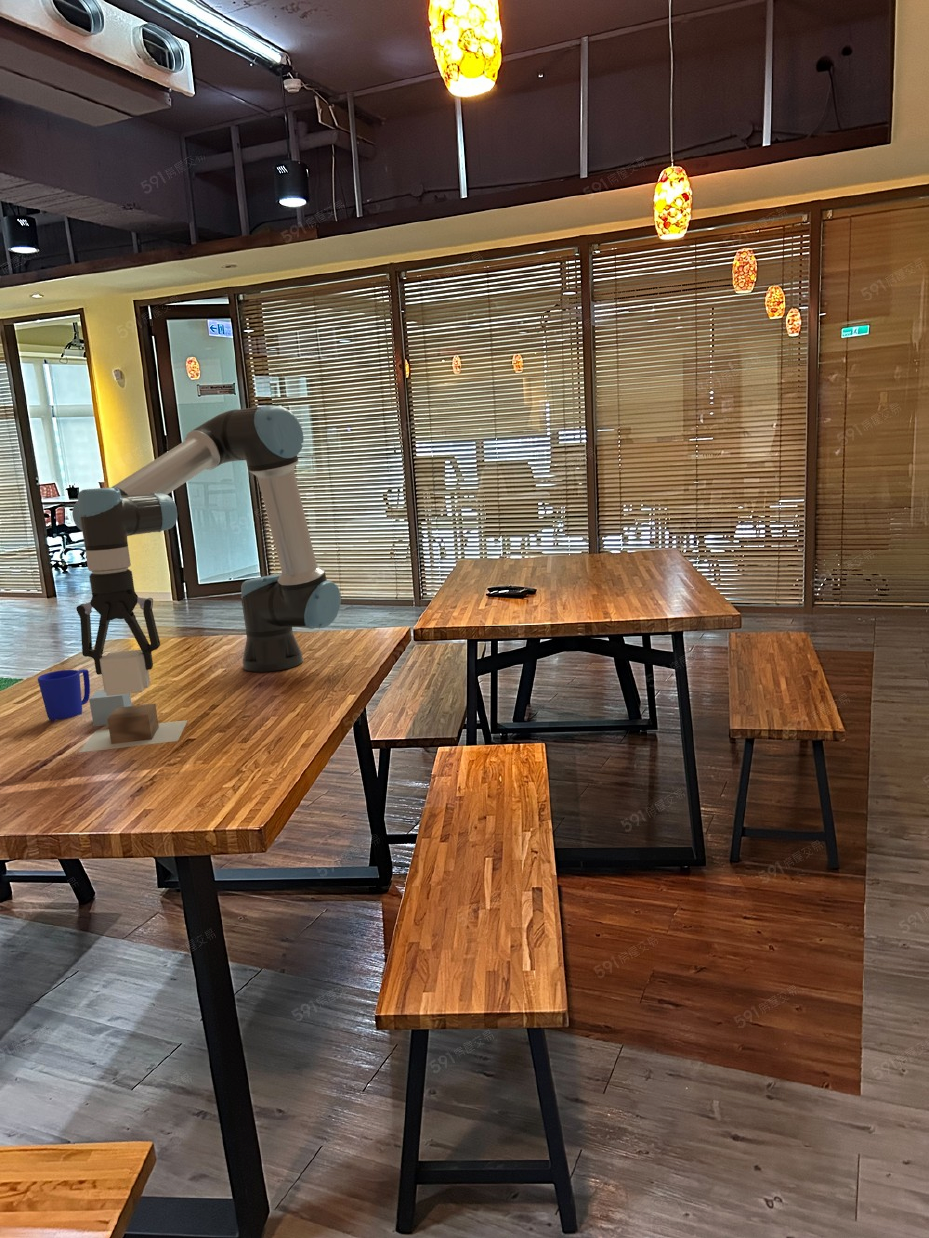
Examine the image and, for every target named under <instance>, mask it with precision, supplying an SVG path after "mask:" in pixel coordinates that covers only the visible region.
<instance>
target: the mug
mask: <svg viewBox="0 0 929 1238" xmlns="http://www.w3.org/2000/svg"><path fill="white" fill-rule="evenodd" d="M81 674H82V678H83V687H84V688H83V689H84V693H83V699H82V690H81V689H82V688H81V678H80V677H81V676H80V675H81ZM37 682H38V686H39V690H40V694H41V698H42V701H43V705H44V709H45V712H46V716H47V719H49V720H48V721H50V722H53V723H54V722H55V721H57V720H65V719H69V718H71V719H72V718H75V717H76V716H81V715H82V714H83V706H84V705H85V704H87V703H88V702H89V699H90V697H91V686H90V685H91V682H90V671H89V670H88V669H79V670H77V669H63V670H57V671H56V670H55V671H51V672H47V673H44V674H42V675H40V676H38V677H37Z"/></svg>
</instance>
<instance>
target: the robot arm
mask: <svg viewBox="0 0 929 1238" xmlns="http://www.w3.org/2000/svg"><path fill="white" fill-rule="evenodd" d="M300 423H301V422H300V421H299V420H298V417H296V415H295V414H294V413H293V412H291V411H290V410H289V409H288V408H285V407H283V406H280V405H279V406H278V405H273V406H271V405H263V406H255V407H249V408H241V409H232V410H227V411H225V412H222V413H220V414H218V415H216V416H214V417H212V418H210V419H208V420H207V421H205V422H204V423H202V424H200V425H199V426H197V427H196V428H194V429H193V430H191V431H189V432H188V433H187V434H186V435H185V438H184V441H182V442H181V443H179V444H178V445H176V446H175V447H173V448H171V449H169V450H168V451H166V452H164V453H163V454H162V455H160V456H158V457H157V458H156V459H154V460H152V461H150V462H149V463H147V464H146V465H144V466H142V467H141V468H140V469H138V470H137V471H135V472H133V473H132V474H130V475H128V476H127V477H126V478H124V479H122V480H120V481H119V482H117V483H116V484H114V485H113V486H110V487H99V488H87V489H82V490H80V491H79V492H78V495H77V501H76V502H75V504H74V505H73V507H72V520H73V522H74V524H75V526H76V527H77V528H78V529H79V530H80V531H82V538H83V543H84V549H85V550H84V551H85V556H86V563H87V564H86V565H87V571H90V572H91V573H90V574H89V576H88V577H89V582H90V583H89V584H90V589H91V599H90V601H88V602H86V603H80V604H79V605H78V606H77V607H75V609H76V611H77V614H78V616H79V618H80V633H81V634H80V635H81V637H80V638H81V652H82V653H81V654H82V656H83V657H86V658H87V657H88V658H92V659H93V661H94V668H95V673H96V675H97V676H99V675H101V677H102V685H103V690H104V691H105V692H106V690H105V683H104V677H103V670H102V664H101V660H102V659H103V658H104V657H105V656H106V655H103V654H104V648H105V644H106V639H107V633H108V630H109V625H110V623H111V622H110V621H113V620H116V619H118V620H124V621H125V623H126V624H127V626H128V628H129V629H130V632H131V633H132V635H133V637H134V638H135V640H136V642H137V645H138V646H139V648H140V650H142V653H141V654H140V655H139V659H140V665H141V672H142V679H143V686H144V688H145V689H146V688H147V689H148V688H149V686H150V685H151V679H150V674H149V671H150V670H152V669H153V667H154V662H153V655H152V652H154V651H156V650H158V649H159V648H160V646H161V641H160V638H159V637H160V636H159V633H158V628H157V625H156V620H155V616H154V612H153V606H154V599H153V598H152V597H148V598H146V597H145V598H144V597H139V596H138V594H137V592H136V590H135V585H134V579H133V578H134V577H133V571H132V570H131V569H129V568H130V567H131V566H132V565H131V564H132V563H131V557H130V550H129V542H128V537H130V536H134V535H143V534H150V533H161V532H164V531H167V530H170V529H172V528H173V527H174V526H175V525H176V523H177V522H178V508H177V505H176V502H175V501H174V499H173V498H172V497H171V496H170V495H169V494H170V493H172V492H173V491H175V490H177V489H179V487H181V486H182V485H184V484H185V483H187V482H189V481H190V480H191V479H193V478H194V477H196V476H197V475H199V474H200V473H202V472H203V471H205V470H214V469H215V468H218V467H219V466H221V465H222V464H225V463H229V462H230V463H231V462H238V461H239V462H240V461H245V462H246V466H247V469H248V472H249V473H250V474H252V475H254V476H255V477H256V478H257V481H258V485H259V489H260V493H261V496H262V501H263V505H264V508H265V512H266V513H265V514H266V515H267V516H266V517H267V520H268V524H269V528H270V530H271V531H270V532H271V535H272V539H273V543H274V547H275V551H276V555H277V559H278V562H279V566H280V570H281V573H275V574H269V575H265V576H261V577H255V578H251V579H247V580H245V581H243V582H242V584H241V585H240V586H241V587H240V591H241V592H240V594H241V595H240V598H241V606H242V611H243V619H244V625H245V627H244V628H245V634H246V641H245V645H244V651H243V655H242V667H243V670H245V671H248V672H255V673H265V672H266V673H267V672H268V673H269V672H276V671H282V670H286V669H287V670H288V669H290V668H294V667H297V666H298V665H301V664H302V663H303V661H304V659H303V652H302V649H301V647H300V646H299V643H298V642H297V639H296V637H295V634H294V632H293V628H302V629H305V628H306V629H309V630H314V629H324V628H327V627H329V626H330V625H331V624H333V623H334V621H335V620H336V618H337V617H338V615H339V612H340V610H341V609H340V608H341V601H342V595H341V591H340V589H339V586H338V585H337V584H335V583H336V582H333V581H331V580H328V578H327V575H326V571H325V569H324V568H323V567H322V566H320V565H318V564H317V559H316V557H315V552H314V548H313V544H312V540H311V536H310V532H309V527H308V523H307V518H306V515H305V510H304V507H303V502H302V499H301V493H300V489H299V485H298V482H297V481H298V480H297V478H296V474H295V473H296V472H295V467H296V466H297V464H298V463H299V458H298V455H299V454H300V452H301V451H302V449H303V444H304V433H303V432H304V431H303V429H302V426H301V424H300ZM137 604H138V605H139V608H140V609H141V610H143V612H142V613H143V618H144V621H145V625H146V629H147V634H148V638H149V641H150V643H149V641H148V639H147V637H146V635H145V633H144V631H143V630H142V627H141V626H140V624H139V622H138V620H137V617H136V615H135V612H134V610H135V608H136V606H137ZM93 609H94V610H95V611H96V613H98V614H99V615H100V617H99V622H98V629H97V633H96V638H95V643H94V647H93V642H92V640H93V638H92V622H91V621H92V620H91V614H92V611H93ZM93 648H94V649H93Z"/></svg>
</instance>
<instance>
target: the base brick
mask: <svg viewBox="0 0 929 1238" xmlns="http://www.w3.org/2000/svg"><path fill="white" fill-rule="evenodd" d="M156 706H157V705H156V703H148V704H139V705H138V704H137V705H132V706H129V707H120V708H116V709H115V710H114V711H113V713H112V714H111V715H110V717H109V718H108V719H107V721H108V725H107V726H108V729H109V733H110V739H111V744H117V743H126V742H134V741H143V740H151V739H152V738H153V737H154V735H155V733H156V731H157V730H158V728H159V725H158V723H159V720H158V712H157V707H156Z"/></svg>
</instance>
